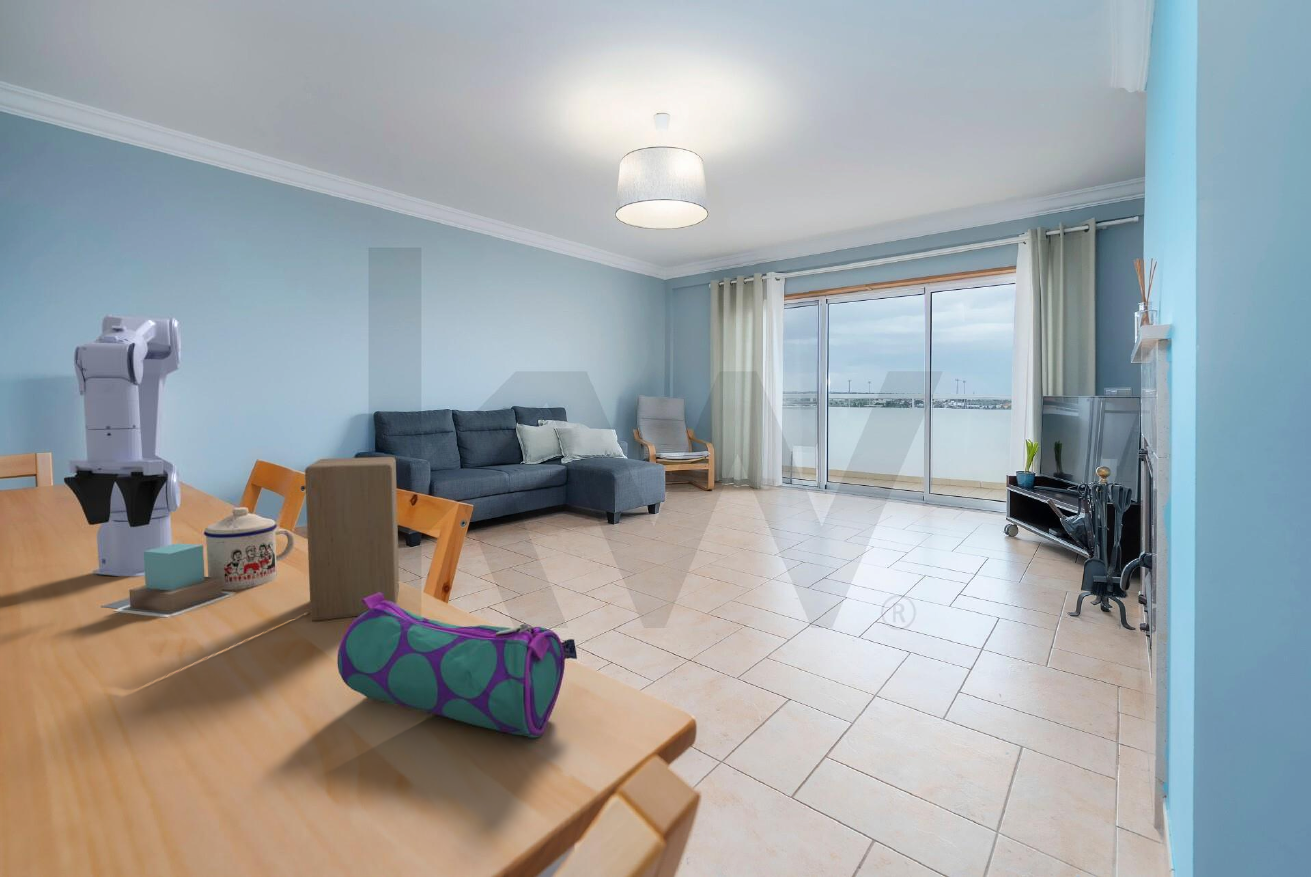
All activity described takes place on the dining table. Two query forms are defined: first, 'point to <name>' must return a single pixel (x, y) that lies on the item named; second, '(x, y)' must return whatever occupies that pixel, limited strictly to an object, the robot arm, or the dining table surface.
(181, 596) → the walnut base
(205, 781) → the dining table surface
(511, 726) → the pencil case
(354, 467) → the wooden block
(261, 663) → the dining table surface
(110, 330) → the robot arm
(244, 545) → the teacup with lid
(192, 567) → the teal cube
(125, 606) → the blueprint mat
